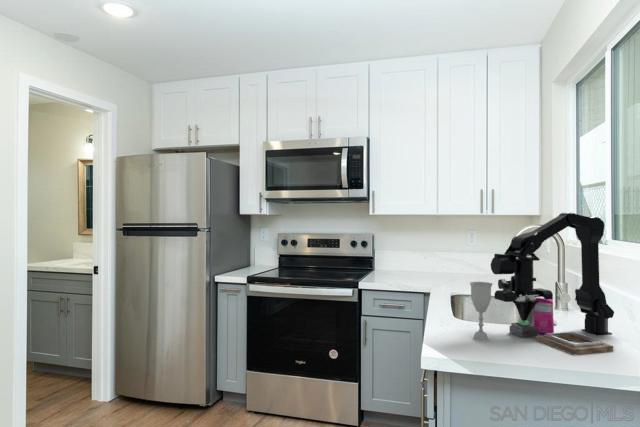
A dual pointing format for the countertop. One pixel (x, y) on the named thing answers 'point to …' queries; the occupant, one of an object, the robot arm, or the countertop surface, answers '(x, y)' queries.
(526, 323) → the button
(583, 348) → the wooden picture frame
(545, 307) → the supplement box
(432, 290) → the countertop surface
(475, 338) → the chalice
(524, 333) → the control block
